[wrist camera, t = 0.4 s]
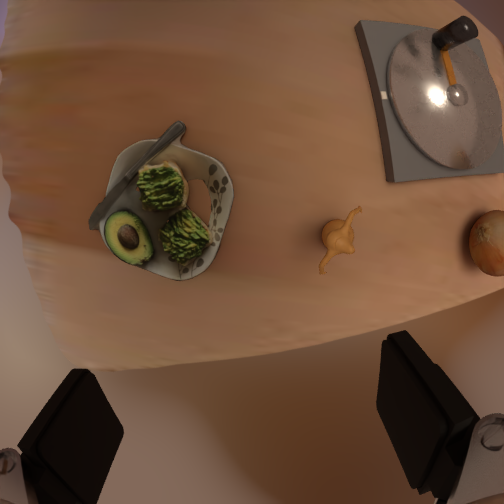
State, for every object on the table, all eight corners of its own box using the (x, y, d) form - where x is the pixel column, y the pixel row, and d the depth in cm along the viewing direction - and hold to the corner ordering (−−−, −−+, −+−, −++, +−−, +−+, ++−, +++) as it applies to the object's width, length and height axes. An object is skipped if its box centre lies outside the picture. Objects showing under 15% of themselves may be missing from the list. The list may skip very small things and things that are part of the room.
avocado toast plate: (129, 107, 34) (115, 100, 29) (258, 149, 36) (258, 146, 31) (89, 241, 39) (73, 250, 34) (204, 288, 41) (198, 303, 36)
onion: (463, 199, 37) (507, 210, 27) (501, 211, 37) (542, 224, 27) (450, 261, 39) (490, 284, 30) (489, 267, 40) (526, 288, 30)
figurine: (329, 266, 39) (358, 305, 28) (291, 245, 39) (307, 278, 27) (361, 212, 37) (404, 231, 26) (323, 188, 37) (354, 198, 25)
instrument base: (354, 27, 30) (360, 19, 28) (470, 43, 29) (479, 39, 27) (386, 181, 36) (395, 182, 34) (496, 171, 35) (506, 172, 33)
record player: (369, 25, 28) (396, -3, 20) (478, 43, 27) (511, 29, 19) (401, 173, 33) (439, 177, 25) (503, 166, 32) (541, 170, 24)
